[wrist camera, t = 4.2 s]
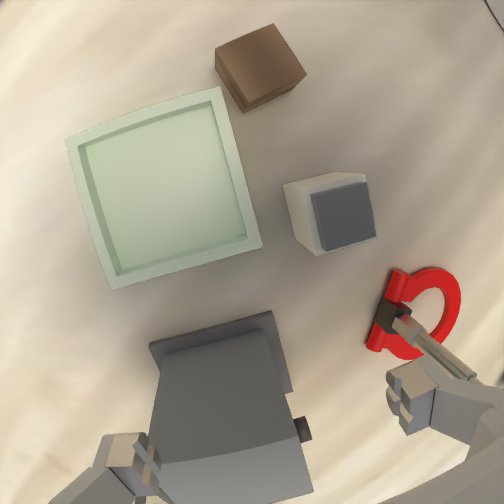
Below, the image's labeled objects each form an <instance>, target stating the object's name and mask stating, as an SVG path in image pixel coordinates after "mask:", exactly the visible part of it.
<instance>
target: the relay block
mask: <svg viewBox="0 0 504 504" xmlns="http://www.w3.org/2000/svg"><path fill="white" fill-rule="evenodd" d="M283 189H284V193H285V198H286V202H287V206H288V210H289V214H290V218H291V223H292V227H293V231H294V235H295V239H296V240H298V241H299V242H300V243H301V244H302V245H304V246H305V247H306V248H307V249H308V250H309V251H311V252H312V253H313V254H314V255H315V256H316V257H318V256H321V255H324V254H328V253H331V252H334V251H338V250H341V249H344V248H348V247H351V246H354V245H357V244H361V243H364V242H367V241H371V240H374V239H377V237H376V230H375V224H374V218H373V212H372V206H371V201H370V195H369V190H368V185H367V180H366V175H365V174H362V173H342V172H333V173H328V174H324V175H320V176H316V177H312V178H307V179H303V180H299V181H295V182H291V183H287V184H283Z"/></svg>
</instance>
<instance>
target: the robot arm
mask: <svg viewBox="0 0 504 504" xmlns="http://www.w3.org/2000/svg"><path fill="white" fill-rule="evenodd" d="M486 1H487V3H488V5H489V7H490V8H491V10H492V12H493V14H494V15H495V17H496V19H497V20H498V22H499V23H500V25H501V26H502V28H503V29H504V0H486ZM386 381H387V383H388V384H389V386H388V388H387V389H386V398H387V402H388V405H389V407H390V410H391V411H392V413H393V414H394V415H396V416H399V424H400V426H401V427H402V429H403V430H404V432H405V433H406V435H407V436H408V435H411V434H413V433H415V432H418V431H420V430H422V429H424V428H426V427H429V426H430V428H432V429H435V430H437V431H439V432H441V433H443V434H445V435H448V436H450V437H452V438H454V439H456V440H459V441H461V442H463V443H465V444H468V445H470V448H469V451H468V453H467V456H466V459H465V461H464V462H462V463H460V464H459V465H457V466H455V467H454V468H452V469H450V470H448V471H446V472H445V473H443V474H441V475H439V476H437V477H435V478H433V479H431V480H429V481H427V482H425V483H423V484H421V485H419V486H417V487H415V488H413V489H411V490H408V491H406V492H404V493H402V494H400V495H397V496H395V497H392V498H390V499H388V500H385V501H383V502H380V503H378V504H504V389H500V388H496V387H491V386H487V385H483V384H478V383H474V382H470V381H466V380H462V379H458V378H455V379H453V380H452V379H451V378H450V376H449V375H448V374H447V373H446V372H445V371H444V370H443V369H442V368H441V367H440V366H439V365H438V364H437V363H436V362H435V361H434V360H433V359H432V358H431V357H430V356H429V355H427V354H426V355H423V356H421V357H419V358H417V359H415V360H413V361H410V362H408V363H406V364H403V365H401V366H399V367H396V368H394V369H391V370H389V371H387V373H386ZM161 465H162V464H161V457H160V455H159V452H158V451H157V449H156V448H155V447H154V446H152V445H150V444H149V438H148V436H147V435H146V434H145V433H144V432H136V433H120V434H105V435H104V436H103V437H102V439H101V442H100V445H99V448H98V451H97V454H96V457H95V460H94V463H93V466H92V467H89V468H88V469H86V470H85V471H84V472H83V473H82V474H81V475H80V476H78V477H77V478H76V479H75V480H74V481H73V482H72V483H70V484H69V485H68V486H67V487H66V488H65V489H64V490H62V491H61V492H60V493H59V494H58V495H57V496H55V497H54V498H53V499H52V500H51V501H50V502H49V503H48V504H132V503H133V501H134V500H135V499H136V497H138V496H157V495H158V489H159V482H160V481H159V479H158V478H157V477H156V476H157V475H158V474H159V473H160V471H161Z"/></svg>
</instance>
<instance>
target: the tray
mask: <svg viewBox="0 0 504 504" xmlns="http://www.w3.org/2000/svg"><path fill="white" fill-rule="evenodd" d="M65 143H66V147H67V152H68V156H69V160H70V164H71V168H72V172H73V176H74V180H75V184H76V187H77V191H78V194H79V198H80V201H81V205H82V208H83V212H84V215H85V218H86V221H87V225H88V228H89V231H90V234H91V237H92V240H93V243H94V246H95V249H96V252H97V254H98V257H99V260H100V263H101V266H102V268H103V271H104V274H105V276H106V279H107V282H108V284H109V287H110V289H111V290H114V289H117V288H121V287H124V286H128V285H131V284H135V283H138V282H142V281H145V280H149V279H152V278H156V277H160V276H163V275H167V274H170V273H174V272H177V271H181V270H184V269H188V268H191V267H195V266H198V265H202V264H205V263H209V262H212V261H216V260H220V259H223V258H227V257H230V256H234V255H237V254H241V253H244V252H248V251H251V250H255V249H258V248H262V247H263V244H262V241H261V237H260V233H259V229H258V225H257V221H256V217H255V214H254V210H253V206H252V202H251V198H250V195H249V191H248V187H247V183H246V179H245V176H244V172H243V168H242V164H241V161H240V157H239V153H238V149H237V146H236V142H235V138H234V134H233V131H232V127H231V123H230V120H229V116H228V112H227V109H226V105H225V101H224V98H223V94H222V90H221V87H220V86H218V87H214V88H210V89H206V90H202V91H198V92H195V93H191V94H187V95H184V96H180V97H177V98H174V99H170V100H167V101H164V102H161V103H158V104H155V105H151V106H148V107H145V108H143V109H140V110H137V111H134V112H131V113H128V114H126V115H123V116H120V117H117V118H115V119H112V120H110V121H107V122H104V123H102V124H99V125H97V126H95V127H92V128H90V129H87V130H85V131H83V132H80V133H78V134H76V135H73V136H71V137H69V138H67V139H65Z"/></svg>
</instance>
